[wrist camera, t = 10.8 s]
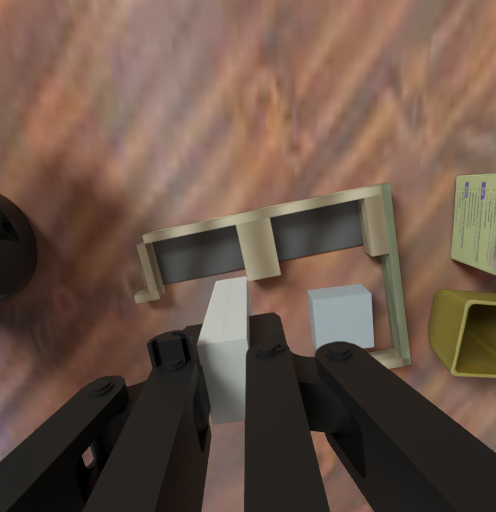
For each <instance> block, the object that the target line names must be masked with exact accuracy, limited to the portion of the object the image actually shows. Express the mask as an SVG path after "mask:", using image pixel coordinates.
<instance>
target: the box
mask: <svg viewBox="0 0 496 512" xmlns="http://www.w3.org/2000/svg"><path fill="white" fill-rule="evenodd" d="M451 259H454V260H456V261H459V262H461V263H464V264H467V265H469V266H472V267H474V268H477V269H480V270H482V271H485V272H487V273H490V274H493V275H495V276H496V173H492V174H478V175H464V176H457V177H456V196H455V211H454V226H453V238H452V249H451Z"/></svg>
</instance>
